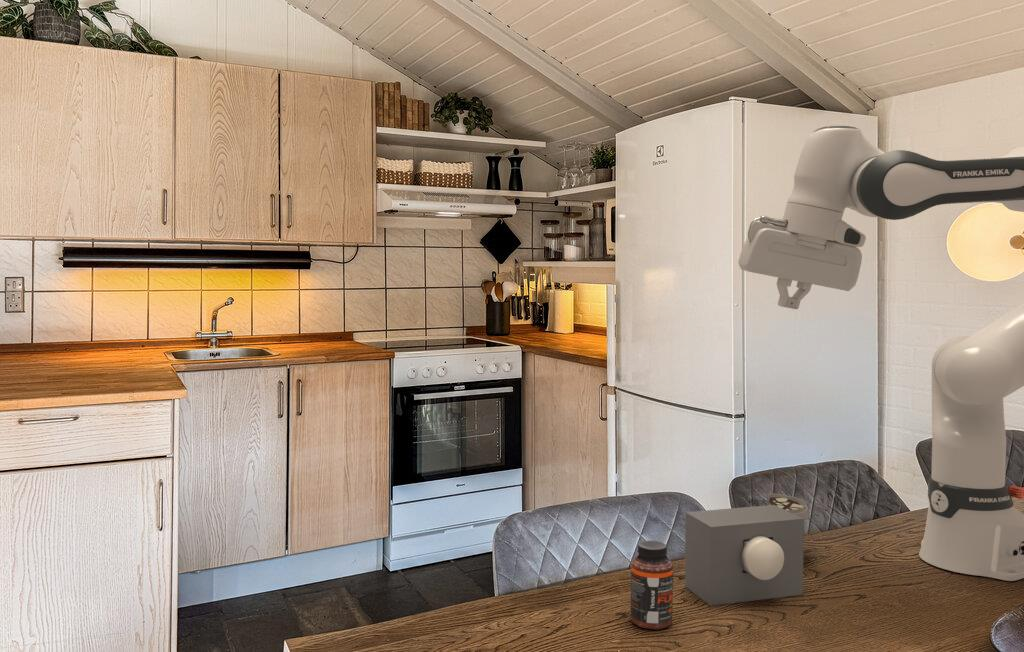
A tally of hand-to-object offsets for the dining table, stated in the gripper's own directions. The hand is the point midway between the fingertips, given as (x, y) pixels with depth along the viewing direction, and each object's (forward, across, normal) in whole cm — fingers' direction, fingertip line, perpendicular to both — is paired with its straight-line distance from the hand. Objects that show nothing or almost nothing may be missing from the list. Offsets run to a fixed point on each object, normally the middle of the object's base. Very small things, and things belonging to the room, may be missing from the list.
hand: (787, 307), depth 130 cm
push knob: (+40, -4, -16) cm, 43 cm away
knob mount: (+44, -3, -14) cm, 46 cm away
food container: (+44, +12, -2) cm, 45 cm away
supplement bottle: (+46, -22, -23) cm, 56 cm away
